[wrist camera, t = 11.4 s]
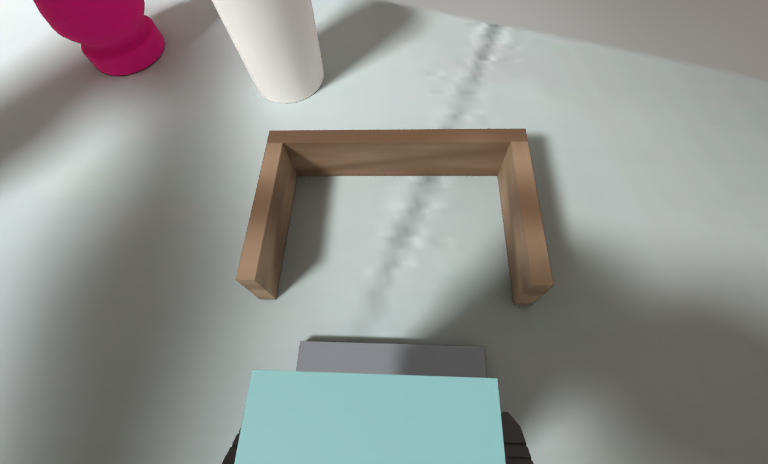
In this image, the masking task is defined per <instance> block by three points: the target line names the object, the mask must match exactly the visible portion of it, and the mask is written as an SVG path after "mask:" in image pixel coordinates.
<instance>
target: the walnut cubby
mask: <svg viewBox="0 0 768 464" xmlns="http://www.w3.org/2000/svg"><path fill="white" fill-rule="evenodd" d="M297 176H498V183H499V191H500V199H501V207H502V215H503V223H504V231H505V239H506V247H507V255H508V263H509V271H510V279H511V287H512V295H513V303H514V304H522V305H532V304H533V303H534V302H535V301H536V300H537V299H539V298H540V297H541V296H542V295H543V294H544V293H545V292H547V291H548V290H549V289H550V288H551V287H552V286H553V279H552V274H551V268H550V263H549V257H548V251H547V246H546V240H545V235H544V229H543V224H542V218H541V212H540V207H539V201H538V196H537V190H536V185H535V179H534V173H533V168H532V162H531V157H530V151H529V145H528V140H527V134H526V129H423V130H297V131H270V132H269V136H268V140H267V145H266V149H265V153H264V158H263V162H262V167H261V171H260V175H259V180H258V184H257V188H256V193H255V197H254V202H253V206H252V210H251V215H250V219H249V223H248V228H247V232H246V237H245V241H244V245H243V250H242V254H241V258H240V263H239V267H238V272H237V276H236V280H237V281H238V282H239V283H240V284H242V285H243V286H244V287H245V288H247V289H248V290H249V291H250V292H252V293H253V294H254V295H255V296H257V297H258V298H259V299H276V296H277V290H278V285H279V279H280V273H281V267H282V261H283V256H284V250H285V244H286V238H287V232H288V227H289V221H290V215H291V209H292V203H293V198H294V192H295V186H296V180H297Z"/></svg>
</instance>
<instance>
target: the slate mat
mask: <svg viewBox="0 0 768 464" xmlns="http://www.w3.org/2000/svg"><path fill="white" fill-rule="evenodd" d="M296 371H300V372H329V373H358V374H386V375H415V376H444V377H473V378H487V376H486V364H485V352H484V346H455V345H419V344H384V343H349V342H313V341H300V346H299V353H298V361H297V368H296Z"/></svg>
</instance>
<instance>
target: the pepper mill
mask: <svg viewBox="0 0 768 464" xmlns="http://www.w3.org/2000/svg"><path fill="white" fill-rule="evenodd" d="M33 1H34V2H35V4H36V6H37V8H38V10H39V11H40V13H41V14H42V15H43V17H44V18H45V19H46V21H47V22H48V23H49V24H50V26H51V27H52V28H53V29H54V30H55V31H56V32H57V33H58V34H60V35H61V36H63V37H65V38H67V39H69V40H71V41H74V42H77V43H81V49H82V52H83V53H84V54H85V55H86V57H87V58H88V59H89V60H90V61H91V62H92V63H93V65H94V66H95V67H96V68H97V69H98V70H100V71H101V72H103V73H105V74H108V75H113V76H121V75H129V74H133V73H136V72H138V71H141V70H143V69H145V68H147V67H148V66H150V65H151V64H153V63H154V62H155V61H156V60H157V59H158V58H159V57H160V55H161V54H162V52H163V50H164V44H165V43H164V39H163V37H162V35H161V33H160V32H159V30H158V29H157V27H156V26H155V24H154V23H153V21H152V20H151V19H150V18H149V17H147V16H145V15H144V0H33Z"/></svg>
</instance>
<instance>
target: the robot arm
mask: <svg viewBox="0 0 768 464" xmlns="http://www.w3.org/2000/svg"><path fill="white" fill-rule="evenodd" d="M501 421H502V431H503V442H504V452H505V462H506V464H533V461H531V456H530V453H529V450H528V447H526V442H525V439H524V436H523V433H522V431H521V428H520V426H519V425H518V424H517V422H516V421H515V420H514V419H513V418H512V416H511V415H510V414H509V413H508V412H501ZM240 431H241V428H240V430H239V434H237V436H236V438H235V440H234V442H233V444H232V447H230V449H229V451H228V453H227V455H226V457H225V459H224V461H223V462H222V464H234V463H235V457H236V452H237V447H238V442H239V436H240Z"/></svg>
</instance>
